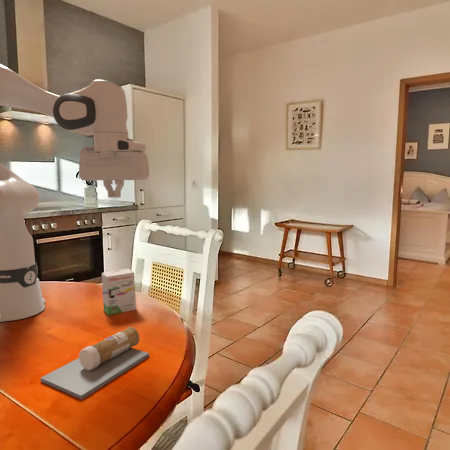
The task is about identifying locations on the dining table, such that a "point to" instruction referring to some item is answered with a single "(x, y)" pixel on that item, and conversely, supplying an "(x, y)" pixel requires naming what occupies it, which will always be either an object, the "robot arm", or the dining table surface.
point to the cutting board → (92, 373)
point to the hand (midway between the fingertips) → (114, 197)
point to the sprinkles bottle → (108, 348)
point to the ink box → (118, 291)
